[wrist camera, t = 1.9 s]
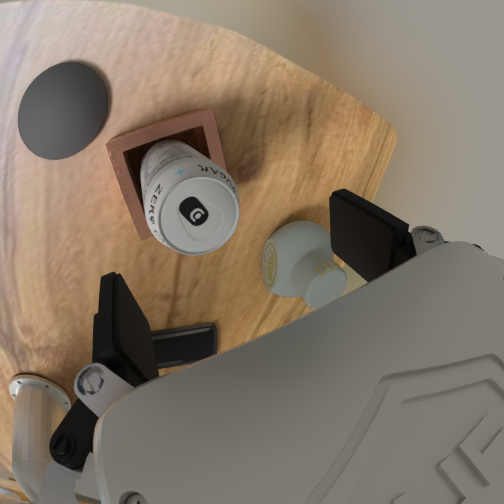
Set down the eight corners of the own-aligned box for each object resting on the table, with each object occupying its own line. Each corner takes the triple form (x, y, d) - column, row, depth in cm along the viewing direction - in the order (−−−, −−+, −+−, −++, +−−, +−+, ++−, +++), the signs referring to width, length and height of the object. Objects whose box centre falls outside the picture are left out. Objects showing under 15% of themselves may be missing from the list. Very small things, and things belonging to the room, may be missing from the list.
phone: (116, 339, 34) (217, 325, 40) (115, 334, 35) (215, 320, 41) (127, 373, 38) (216, 359, 44) (126, 368, 39) (214, 354, 45)
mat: (118, 135, 24) (117, 135, 23) (35, 174, 21) (33, 175, 21) (96, 48, 18) (95, 47, 18) (11, 91, 16) (9, 91, 15)
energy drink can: (164, 204, 29) (193, 281, 17) (127, 165, 26) (124, 218, 14) (206, 167, 29) (266, 218, 17) (172, 126, 26) (209, 142, 14)
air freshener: (305, 276, 44) (343, 316, 36) (257, 286, 40) (290, 333, 33) (317, 211, 38) (365, 243, 30) (263, 215, 35) (306, 253, 27)
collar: (221, 192, 31) (234, 205, 28) (139, 222, 29) (141, 240, 26) (201, 109, 26) (212, 109, 22) (110, 139, 24) (105, 144, 20)
